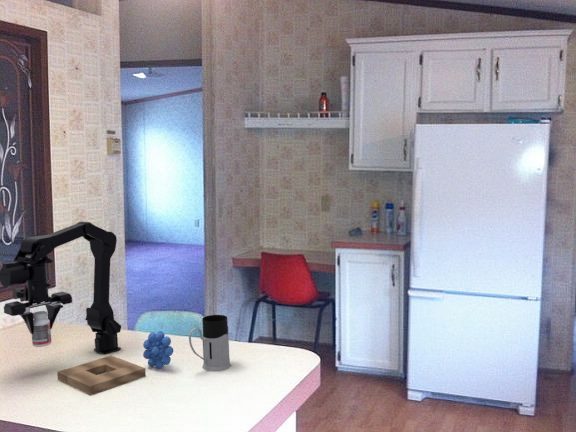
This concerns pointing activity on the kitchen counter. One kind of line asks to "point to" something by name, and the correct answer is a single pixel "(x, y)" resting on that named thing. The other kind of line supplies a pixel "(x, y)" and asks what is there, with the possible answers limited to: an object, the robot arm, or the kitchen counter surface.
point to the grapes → (157, 350)
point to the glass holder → (214, 343)
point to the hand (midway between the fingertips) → (41, 331)
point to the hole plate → (87, 374)
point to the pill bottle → (41, 329)
